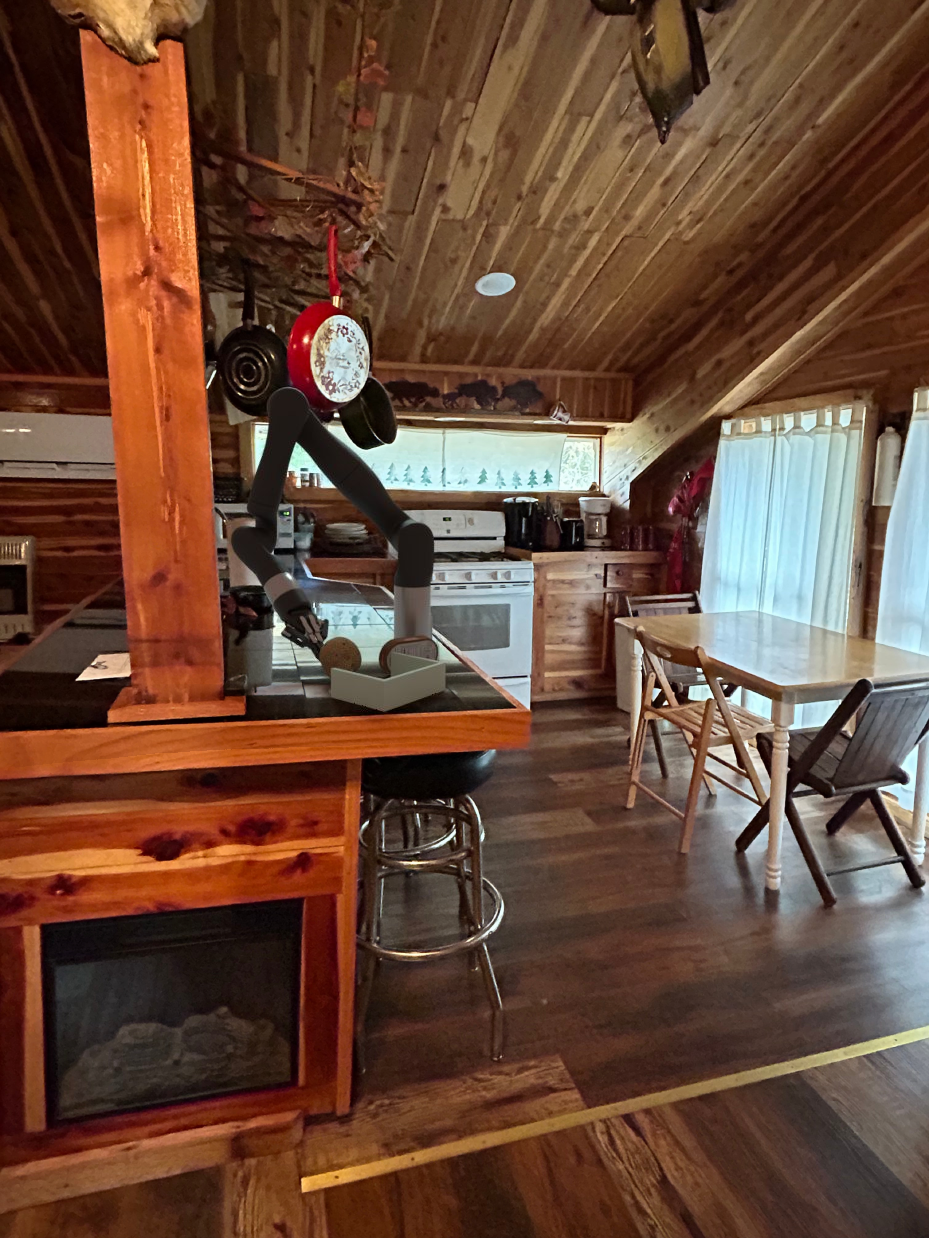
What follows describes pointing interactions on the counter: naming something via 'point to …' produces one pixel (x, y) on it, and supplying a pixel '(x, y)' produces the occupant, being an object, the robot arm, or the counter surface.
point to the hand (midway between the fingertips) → (324, 658)
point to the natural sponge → (340, 655)
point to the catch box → (390, 683)
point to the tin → (407, 649)
